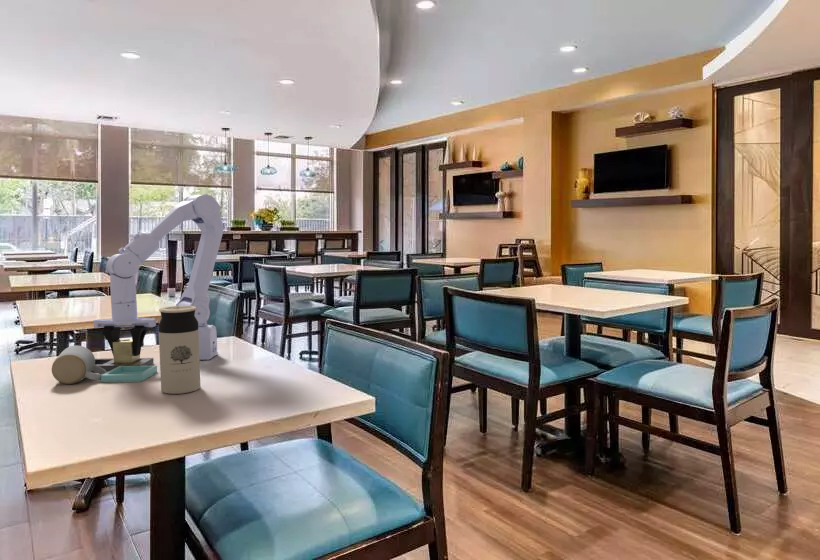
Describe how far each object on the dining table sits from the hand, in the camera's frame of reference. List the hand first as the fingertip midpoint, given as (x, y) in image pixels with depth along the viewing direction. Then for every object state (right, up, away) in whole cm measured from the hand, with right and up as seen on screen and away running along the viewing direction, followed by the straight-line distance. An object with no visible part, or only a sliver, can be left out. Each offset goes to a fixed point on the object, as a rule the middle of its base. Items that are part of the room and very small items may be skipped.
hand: (126, 355), depth 146 cm
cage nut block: (0, -2, 0) cm, 2 cm away
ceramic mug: (-5, -5, -12) cm, 14 cm away
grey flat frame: (-4, -3, 0) cm, 5 cm away
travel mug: (+22, -5, -20) cm, 30 cm away
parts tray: (+5, -4, -9) cm, 11 cm away
